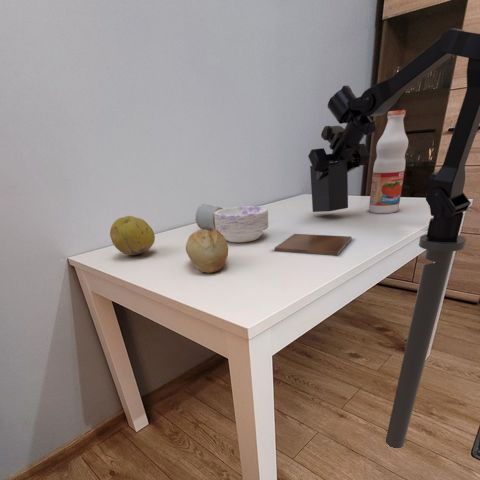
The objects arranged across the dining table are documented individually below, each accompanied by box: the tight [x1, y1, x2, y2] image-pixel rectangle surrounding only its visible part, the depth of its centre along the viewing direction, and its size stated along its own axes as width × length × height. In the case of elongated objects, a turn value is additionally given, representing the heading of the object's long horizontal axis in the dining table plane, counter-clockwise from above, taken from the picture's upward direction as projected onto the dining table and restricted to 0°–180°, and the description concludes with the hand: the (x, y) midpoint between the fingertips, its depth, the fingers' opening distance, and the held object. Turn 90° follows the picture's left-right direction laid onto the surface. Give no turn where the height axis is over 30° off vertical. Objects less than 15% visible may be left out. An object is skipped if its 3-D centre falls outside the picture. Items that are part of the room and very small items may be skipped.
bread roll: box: [185, 228, 229, 274], centre depth 79 cm, size 10×15×8 cm, turn 17°
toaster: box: [309, 162, 349, 213], centre depth 111 cm, size 12×7×14 cm, turn 22°
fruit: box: [109, 215, 156, 256], centre depth 91 cm, size 11×12×10 cm
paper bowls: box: [214, 205, 269, 243], centre depth 97 cm, size 15×15×8 cm
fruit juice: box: [368, 109, 409, 214], centre depth 108 cm, size 9×9×28 cm
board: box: [274, 233, 352, 256], centre depth 88 cm, size 16×14×1 cm
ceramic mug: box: [195, 203, 224, 231], centre depth 110 cm, size 11×8×8 cm
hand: (327, 177), depth 109 cm, fingers closed on toaster, 7 cm apart
